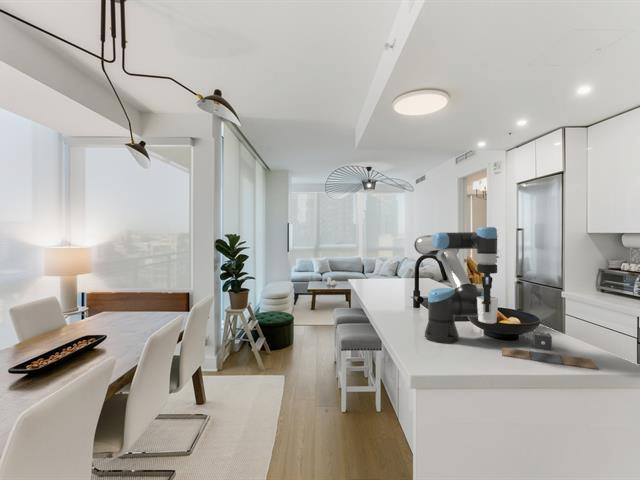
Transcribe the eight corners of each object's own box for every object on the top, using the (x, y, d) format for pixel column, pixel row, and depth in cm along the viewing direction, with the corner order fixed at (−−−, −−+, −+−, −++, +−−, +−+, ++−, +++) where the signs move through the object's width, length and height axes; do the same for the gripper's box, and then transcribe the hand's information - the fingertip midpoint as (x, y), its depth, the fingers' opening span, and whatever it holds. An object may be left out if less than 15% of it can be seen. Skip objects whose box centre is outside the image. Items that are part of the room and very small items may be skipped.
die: (534, 348, 135) (534, 334, 135) (532, 344, 140) (532, 331, 140) (551, 351, 132) (551, 336, 132) (549, 346, 137) (549, 332, 137)
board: (502, 355, 127) (502, 354, 127) (501, 348, 136) (501, 347, 136) (598, 369, 113) (598, 368, 113) (590, 360, 121) (590, 359, 121)
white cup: (490, 324, 129) (490, 300, 129) (472, 320, 136) (472, 297, 136) (502, 322, 132) (502, 298, 132) (484, 318, 139) (484, 295, 139)
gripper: (497, 265, 123) (497, 324, 123) (496, 262, 141) (497, 313, 141) (476, 265, 127) (476, 322, 127) (478, 261, 145) (478, 311, 145)
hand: (487, 317), depth 134 cm, fingers closed on white cup, 8 cm apart
